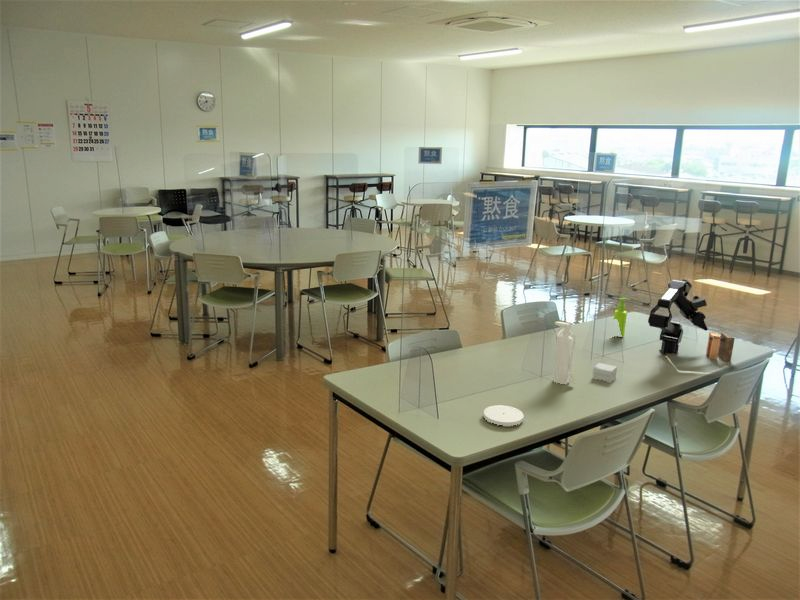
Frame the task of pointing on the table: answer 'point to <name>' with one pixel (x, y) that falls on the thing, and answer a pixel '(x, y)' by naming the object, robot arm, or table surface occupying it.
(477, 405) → the table surface
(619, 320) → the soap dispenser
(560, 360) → the spray bottle
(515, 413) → the plastic lid
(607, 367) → the small box
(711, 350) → the C-link
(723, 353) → the walnut stand
